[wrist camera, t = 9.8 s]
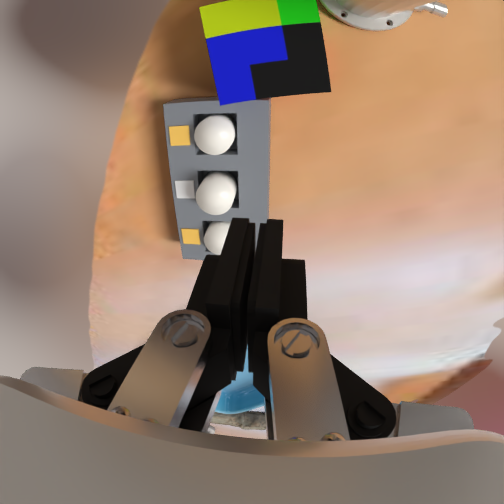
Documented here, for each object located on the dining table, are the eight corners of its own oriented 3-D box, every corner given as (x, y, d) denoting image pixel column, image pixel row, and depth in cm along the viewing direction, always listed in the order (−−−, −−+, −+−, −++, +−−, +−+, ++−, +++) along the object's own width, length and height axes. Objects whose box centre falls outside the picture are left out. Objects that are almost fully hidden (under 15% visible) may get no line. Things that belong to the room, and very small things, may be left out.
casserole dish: (227, 399, 77) (223, 421, 72) (157, 363, 70) (149, 387, 65) (334, 348, 59) (336, 376, 53) (253, 292, 52) (248, 324, 46)
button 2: (239, 214, 41) (236, 228, 38) (240, 241, 44) (237, 256, 41) (208, 213, 42) (202, 226, 39) (210, 240, 44) (205, 254, 41)
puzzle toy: (236, 94, 33) (220, 105, 25) (221, 20, 28) (199, 7, 19) (319, 84, 31) (331, 91, 23) (306, 8, 26) (313, -11, 18)
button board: (270, 96, 33) (268, 100, 29) (267, 247, 46) (265, 264, 42) (174, 99, 34) (162, 104, 30) (190, 243, 47) (182, 259, 43)
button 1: (237, 112, 33) (232, 117, 30) (238, 146, 36) (233, 155, 33) (201, 112, 33) (193, 118, 31) (203, 146, 36) (195, 155, 33)
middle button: (236, 170, 36) (232, 181, 33) (237, 202, 38) (233, 215, 36) (201, 169, 36) (194, 180, 33) (204, 201, 39) (197, 214, 36)
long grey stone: (178, 396, 84) (186, 408, 90) (174, 411, 79) (182, 422, 86) (294, 412, 78) (292, 423, 84) (292, 428, 74) (290, 437, 80)
